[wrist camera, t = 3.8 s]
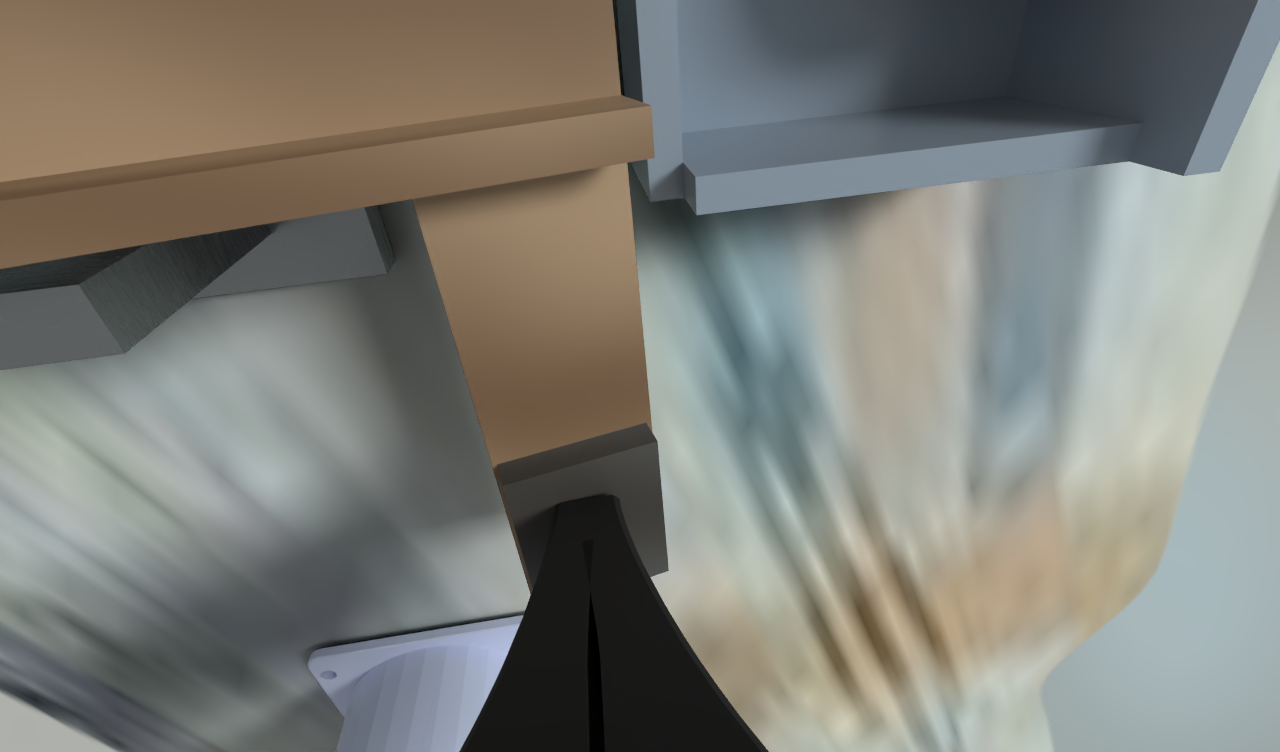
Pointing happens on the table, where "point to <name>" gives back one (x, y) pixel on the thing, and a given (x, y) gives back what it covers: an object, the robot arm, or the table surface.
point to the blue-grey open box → (931, 91)
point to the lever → (375, 187)
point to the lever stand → (173, 282)
